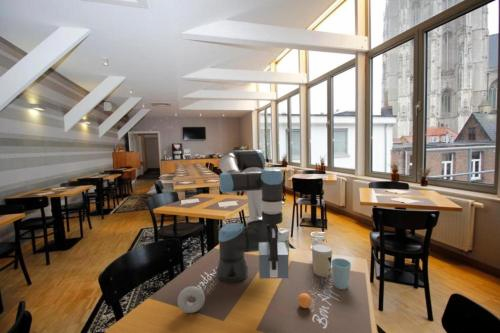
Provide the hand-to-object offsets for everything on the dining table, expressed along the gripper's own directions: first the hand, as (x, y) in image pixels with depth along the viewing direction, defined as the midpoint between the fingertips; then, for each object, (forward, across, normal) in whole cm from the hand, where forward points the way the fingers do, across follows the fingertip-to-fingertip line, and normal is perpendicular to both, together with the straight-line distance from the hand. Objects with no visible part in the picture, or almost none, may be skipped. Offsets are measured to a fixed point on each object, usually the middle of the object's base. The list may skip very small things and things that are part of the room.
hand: (272, 268), depth 91 cm
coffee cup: (+15, +24, -25) cm, 37 cm away
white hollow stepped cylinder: (+15, +36, -26) cm, 47 cm away
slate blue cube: (+1, 0, 0) cm, 1 cm away
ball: (+12, -1, -12) cm, 17 cm away
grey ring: (+15, -3, +30) cm, 34 cm away
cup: (+15, +13, -30) cm, 36 cm away
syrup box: (+15, +40, -8) cm, 44 cm away
